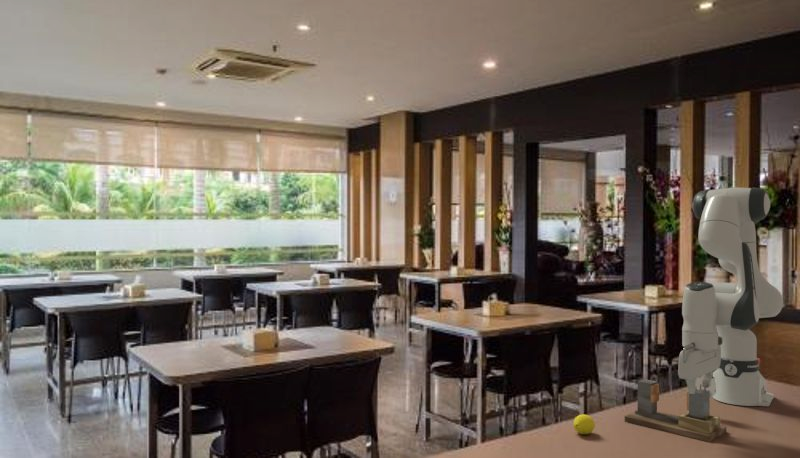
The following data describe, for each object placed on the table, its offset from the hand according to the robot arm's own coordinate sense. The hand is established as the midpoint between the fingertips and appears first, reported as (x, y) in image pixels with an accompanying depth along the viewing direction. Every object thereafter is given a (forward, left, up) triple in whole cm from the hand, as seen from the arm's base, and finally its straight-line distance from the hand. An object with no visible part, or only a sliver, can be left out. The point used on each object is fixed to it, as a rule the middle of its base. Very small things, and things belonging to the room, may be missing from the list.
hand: (699, 390), depth 174 cm
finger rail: (0, -7, -12) cm, 14 cm away
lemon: (+25, -21, -12) cm, 35 cm away
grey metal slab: (0, 0, -9) cm, 9 cm away
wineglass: (-17, -5, -12) cm, 21 cm away
